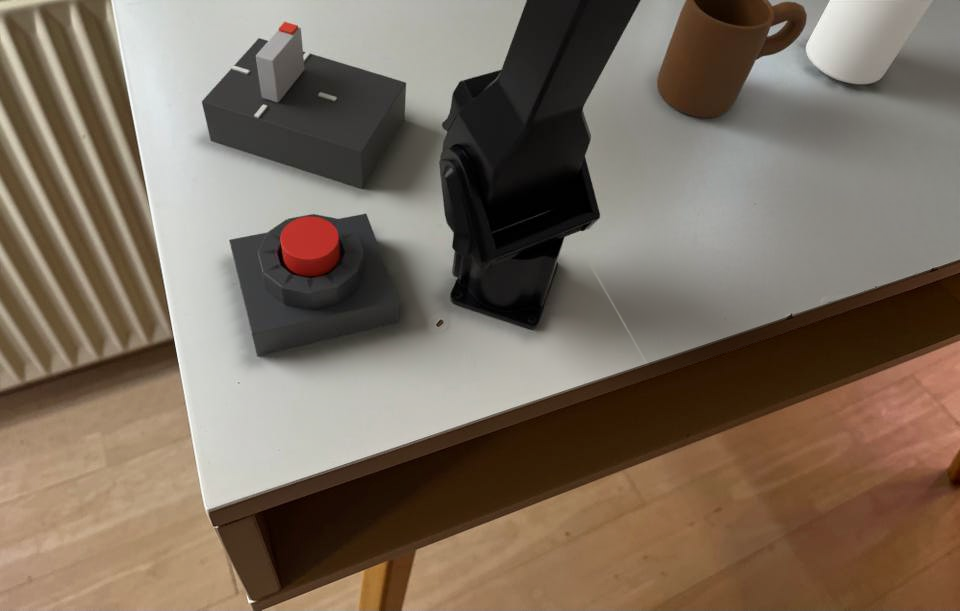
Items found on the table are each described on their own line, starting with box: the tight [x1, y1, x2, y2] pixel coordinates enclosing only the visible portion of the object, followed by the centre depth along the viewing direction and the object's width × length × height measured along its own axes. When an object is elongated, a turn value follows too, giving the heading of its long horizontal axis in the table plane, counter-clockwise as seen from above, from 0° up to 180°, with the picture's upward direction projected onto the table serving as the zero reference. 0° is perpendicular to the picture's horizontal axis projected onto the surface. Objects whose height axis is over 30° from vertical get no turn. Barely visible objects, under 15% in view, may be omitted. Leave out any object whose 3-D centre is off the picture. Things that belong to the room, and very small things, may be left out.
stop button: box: [280, 217, 340, 277], centre depth 47 cm, size 4×4×2 cm
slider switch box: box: [201, 37, 407, 190], centre depth 59 cm, size 13×9×4 cm
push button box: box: [228, 213, 400, 357], centre depth 50 cm, size 10×8×4 cm
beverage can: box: [805, 0, 934, 85], centre depth 71 cm, size 8×8×12 cm
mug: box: [656, 0, 808, 118], centre depth 67 cm, size 12×8×9 cm, turn 104°
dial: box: [256, 21, 305, 103], centre depth 56 cm, size 5×1×4 cm, turn 162°
